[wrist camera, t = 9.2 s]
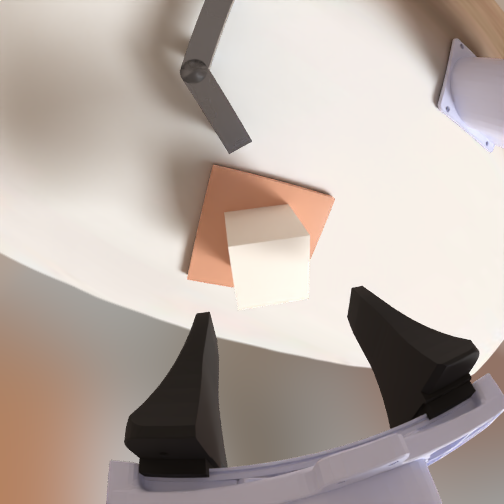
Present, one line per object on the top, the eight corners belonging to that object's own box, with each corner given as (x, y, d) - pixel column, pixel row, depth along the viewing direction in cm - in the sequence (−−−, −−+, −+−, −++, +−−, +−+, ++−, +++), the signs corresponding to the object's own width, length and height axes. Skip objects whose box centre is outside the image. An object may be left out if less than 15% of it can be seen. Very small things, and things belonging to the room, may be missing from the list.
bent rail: (285, 11, 13) (301, -7, 10) (240, 148, 18) (246, 158, 15) (216, -7, 12) (217, -29, 9) (171, 133, 17) (162, 140, 14)
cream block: (288, 203, 20) (310, 235, 16) (290, 258, 22) (308, 298, 18) (224, 212, 20) (228, 246, 15) (232, 267, 22) (238, 310, 17)
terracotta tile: (332, 196, 21) (335, 198, 20) (291, 292, 25) (293, 296, 24) (213, 164, 18) (213, 166, 18) (187, 275, 22) (187, 279, 22)
